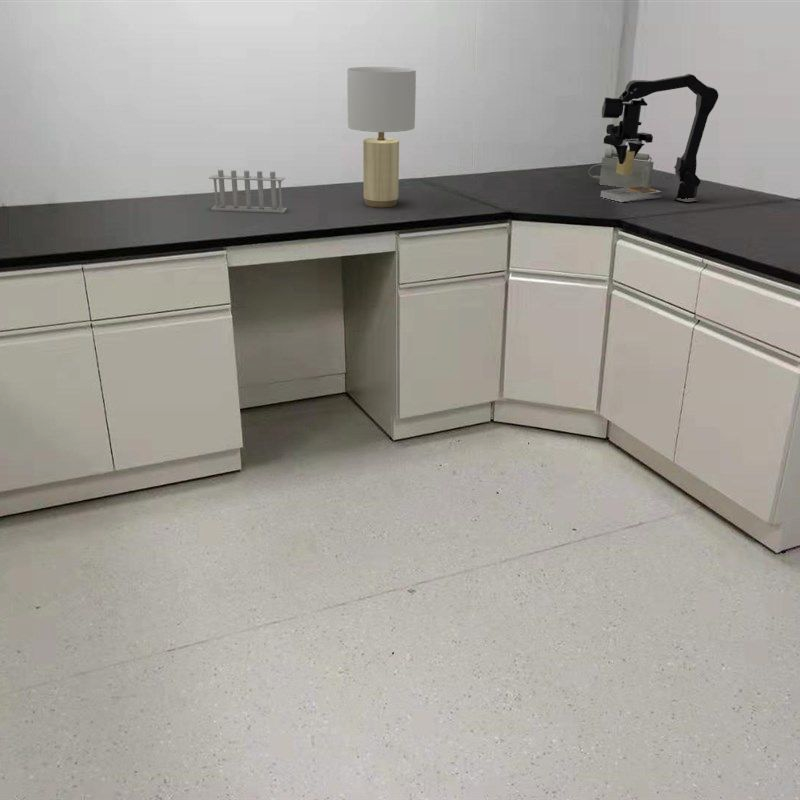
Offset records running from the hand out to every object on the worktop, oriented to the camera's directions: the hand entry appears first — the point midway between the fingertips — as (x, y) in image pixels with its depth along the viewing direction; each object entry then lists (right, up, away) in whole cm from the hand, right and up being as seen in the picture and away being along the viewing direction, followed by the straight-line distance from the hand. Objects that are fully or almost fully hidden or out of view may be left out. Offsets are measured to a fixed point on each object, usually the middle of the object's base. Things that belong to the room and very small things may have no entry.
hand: (625, 163), depth 301 cm
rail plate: (+4, -11, +8) cm, 14 cm away
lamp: (-89, -17, -7) cm, 90 cm away
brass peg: (0, -3, +2) cm, 4 cm away
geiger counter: (+4, -2, +25) cm, 26 cm away
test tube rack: (-133, -21, -18) cm, 136 cm away
